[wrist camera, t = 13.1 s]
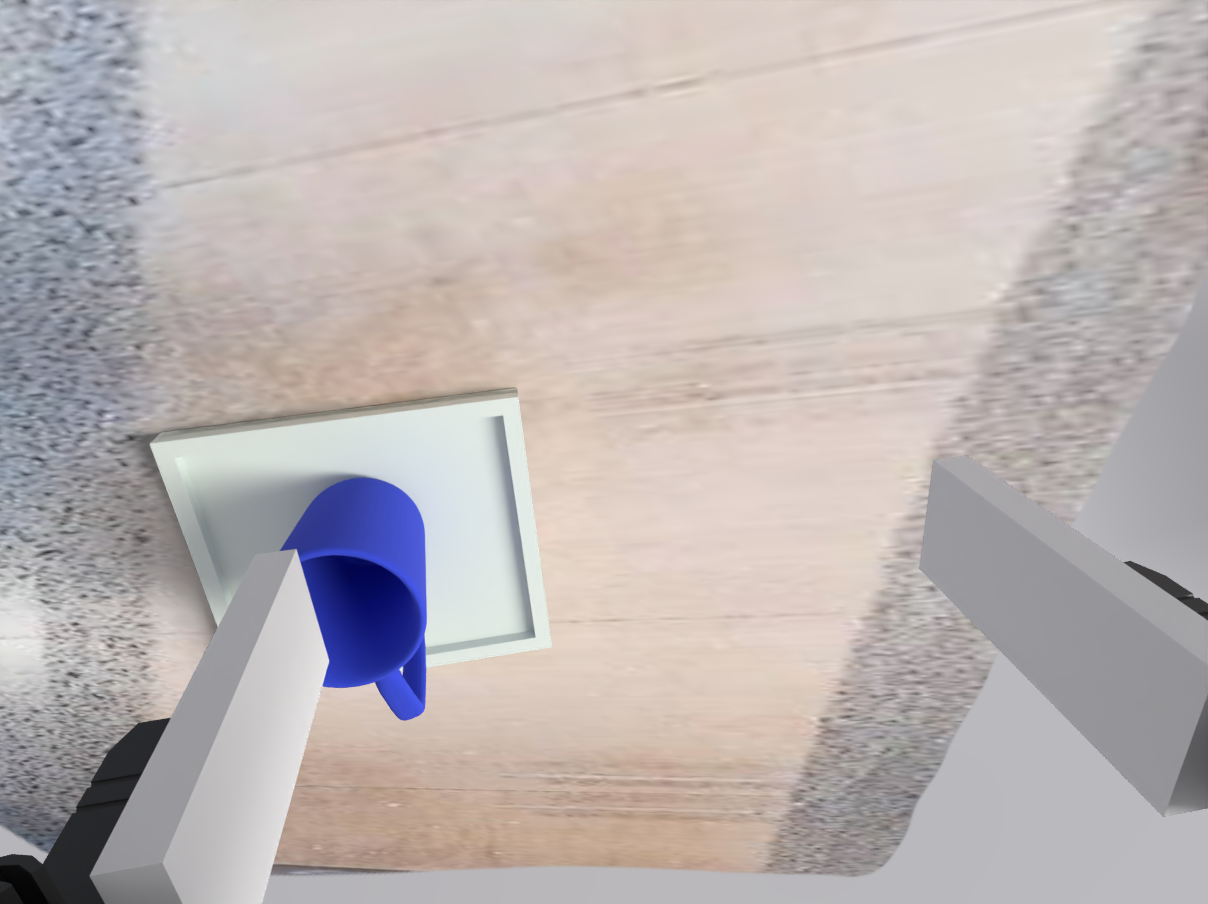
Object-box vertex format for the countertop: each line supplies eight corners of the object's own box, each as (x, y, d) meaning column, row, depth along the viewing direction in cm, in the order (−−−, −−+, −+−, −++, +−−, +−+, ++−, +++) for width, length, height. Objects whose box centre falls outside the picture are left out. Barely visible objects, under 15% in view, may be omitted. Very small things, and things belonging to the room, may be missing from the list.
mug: (366, 641, 48) (340, 761, 39) (268, 490, 43) (212, 589, 34) (483, 595, 48) (484, 705, 39) (400, 439, 43) (378, 524, 34)
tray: (160, 432, 41) (149, 443, 40) (516, 387, 43) (518, 396, 42) (250, 680, 49) (243, 697, 47) (550, 632, 51) (552, 646, 49)
